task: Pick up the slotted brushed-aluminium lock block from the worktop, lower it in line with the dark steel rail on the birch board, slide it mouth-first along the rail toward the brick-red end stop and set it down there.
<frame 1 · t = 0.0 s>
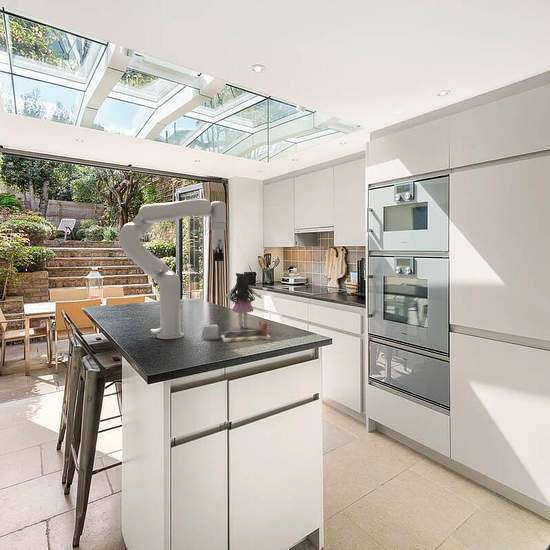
hand: (218, 261, 185), 37 cm above the table, tool pointing down, fingers open, 9 cm apart
board: (245, 338, 175), on the table
lock block: (210, 338, 176), on the table
figurine: (242, 328, 200), on the table
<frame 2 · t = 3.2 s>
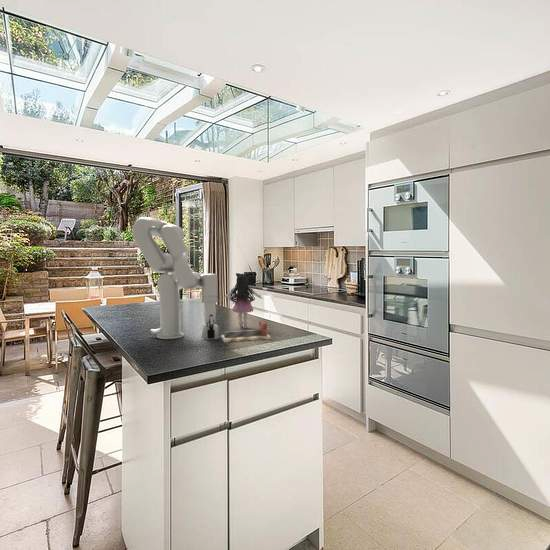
hand: (210, 336, 176), 1 cm above the table, tool pointing down, fingers closed on lock block, 6 cm apart
lock block: (210, 338, 176), on the table, touching gripper
everything else where it was.
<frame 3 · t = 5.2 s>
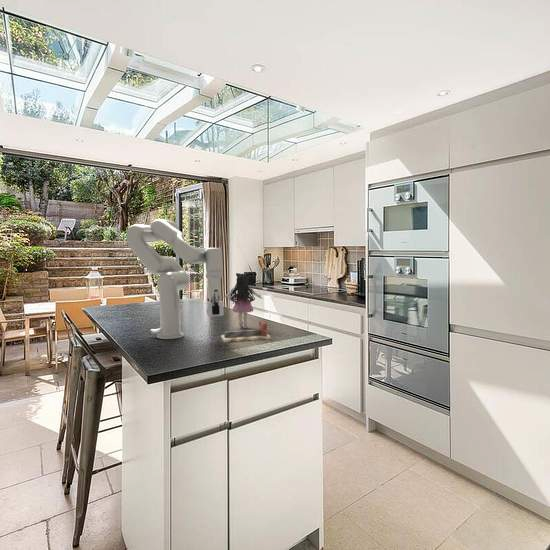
hand: (214, 313, 170), 13 cm above the table, tool pointing down, fingers closed on lock block, 6 cm apart
lock block: (215, 314, 170), point 12 cm above the table, touching gripper
everything else where it was.
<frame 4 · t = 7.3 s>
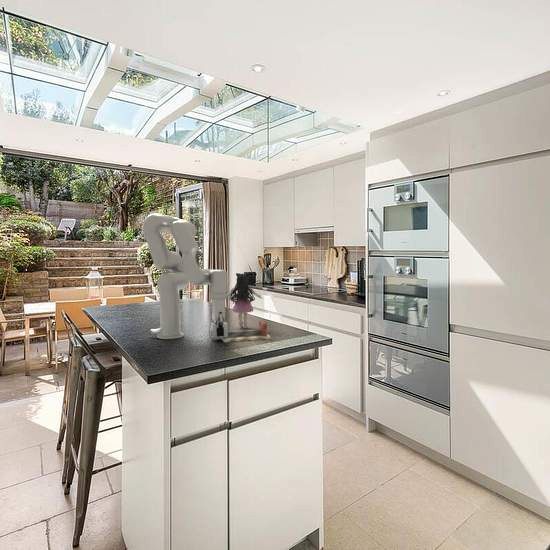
hand: (219, 334, 171), 3 cm above the table, tool pointing down, fingers closed on lock block, 6 cm apart
lock block: (219, 336, 171), point 2 cm above the table, touching gripper
everything else where it was.
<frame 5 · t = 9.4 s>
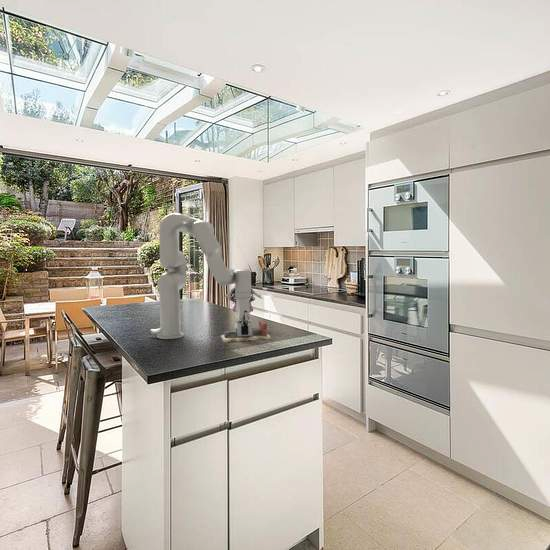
hand: (243, 332, 175), 3 cm above the table, tool pointing down, fingers closed on lock block, 6 cm apart
lock block: (243, 334, 175), point 2 cm above the table, touching gripper
everything else where it was.
when the fingers open (2 cm above the table, at t = 11.5 s): lock block stays where it is, resting on board.
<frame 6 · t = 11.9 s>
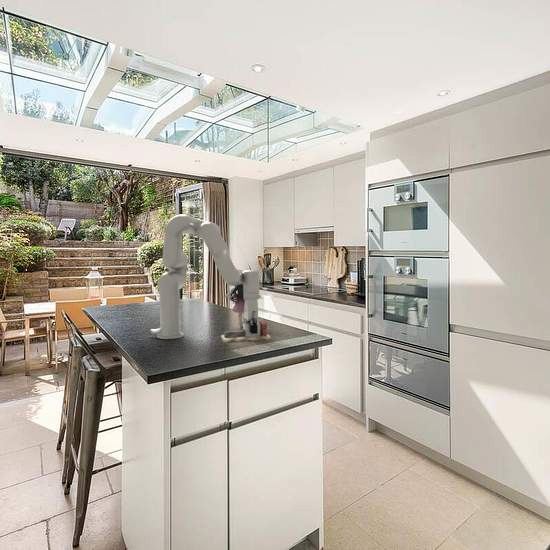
hand: (251, 331, 176), 3 cm above the table, tool pointing down, fingers open, 9 cm apart
lock block: (251, 335, 176), point 1 cm above the table, touching board
everything else where it was.
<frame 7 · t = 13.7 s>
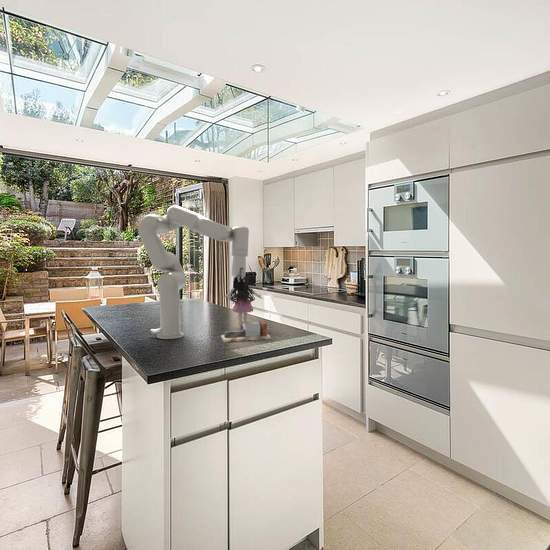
hand: (238, 289, 173), 23 cm above the table, tool pointing down, fingers open, 9 cm apart
nothing on the table moved.
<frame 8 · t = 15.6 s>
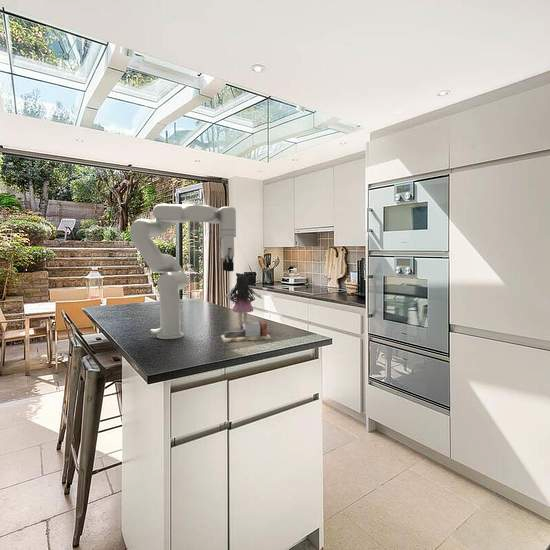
hand: (228, 270, 171), 32 cm above the table, tool pointing down, fingers open, 9 cm apart
nothing on the table moved.
at the end: lock block 0.6 cm from the target spot on the board, point 1.2 cm above the board's base; lock block tilted 0°; the gripper is holding nothing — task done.
